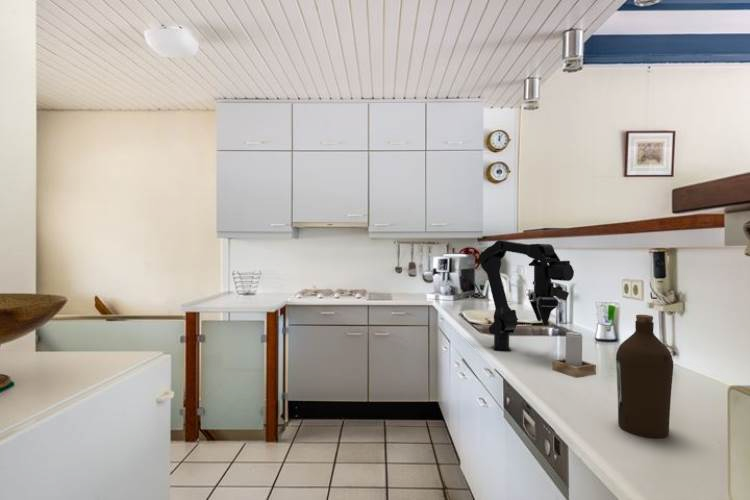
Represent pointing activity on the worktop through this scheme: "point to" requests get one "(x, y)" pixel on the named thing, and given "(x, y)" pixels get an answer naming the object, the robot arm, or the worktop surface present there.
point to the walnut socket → (574, 368)
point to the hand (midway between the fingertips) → (542, 323)
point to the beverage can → (573, 349)
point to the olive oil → (644, 382)
